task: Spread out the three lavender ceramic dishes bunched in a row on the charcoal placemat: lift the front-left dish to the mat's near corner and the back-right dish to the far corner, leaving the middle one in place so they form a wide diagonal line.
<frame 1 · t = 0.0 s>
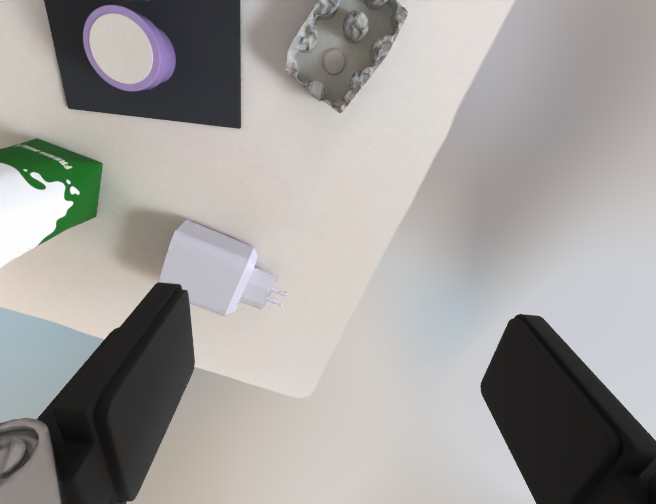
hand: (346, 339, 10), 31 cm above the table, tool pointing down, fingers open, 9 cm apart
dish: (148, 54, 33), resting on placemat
charger: (234, 268, 45), on the table
egg carton: (342, 44, 33), on the table
milk carton: (69, 179, 39), on the table
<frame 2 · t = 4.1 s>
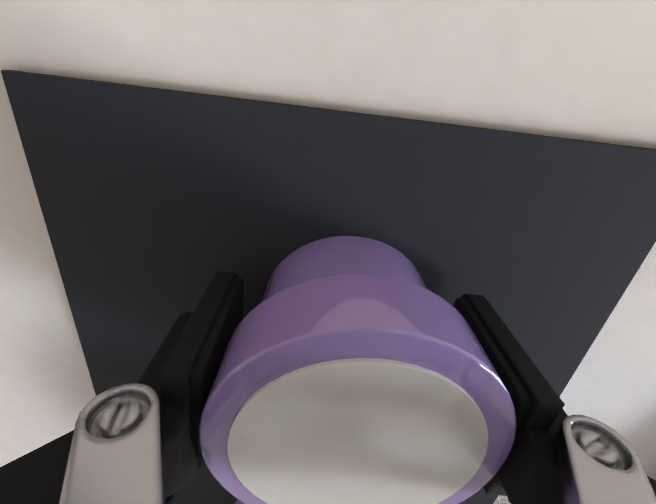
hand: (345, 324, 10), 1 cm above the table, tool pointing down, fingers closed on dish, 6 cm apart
placemat: (322, 434, 15), on the table
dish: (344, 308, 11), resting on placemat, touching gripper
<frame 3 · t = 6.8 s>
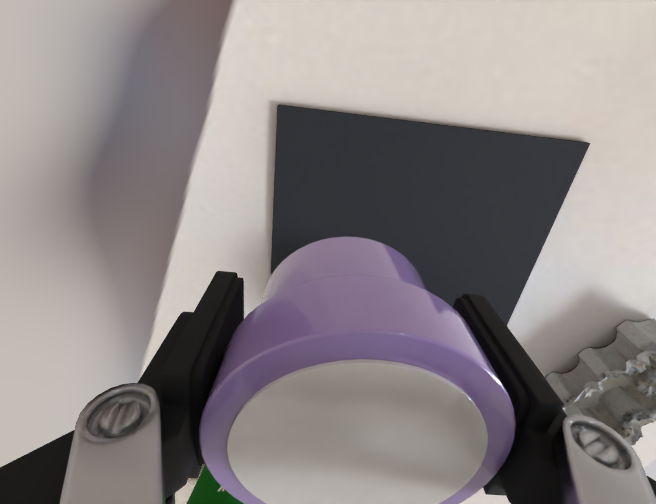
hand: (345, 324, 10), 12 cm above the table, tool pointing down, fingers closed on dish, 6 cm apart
placemat: (390, 307, 25), on the table
egg carton: (603, 365, 28), on the table
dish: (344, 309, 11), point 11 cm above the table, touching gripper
milk carton: (244, 462, 34), on the table
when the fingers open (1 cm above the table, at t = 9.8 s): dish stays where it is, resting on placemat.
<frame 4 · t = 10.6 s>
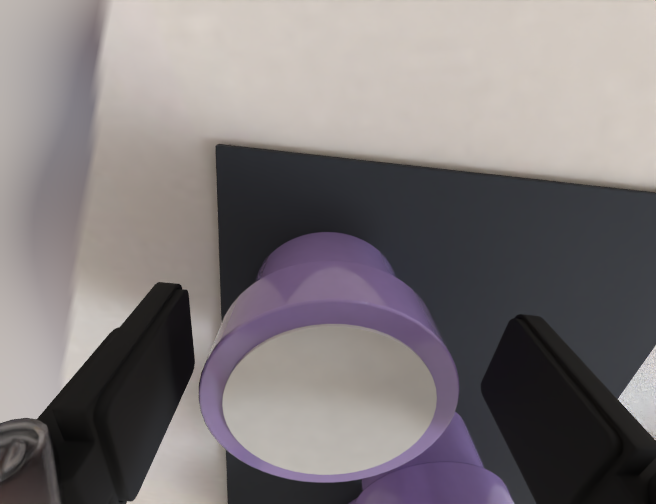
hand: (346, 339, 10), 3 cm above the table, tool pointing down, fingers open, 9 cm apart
placemat: (410, 433, 17), on the table
dish middle: (411, 439, 16), resting on placemat
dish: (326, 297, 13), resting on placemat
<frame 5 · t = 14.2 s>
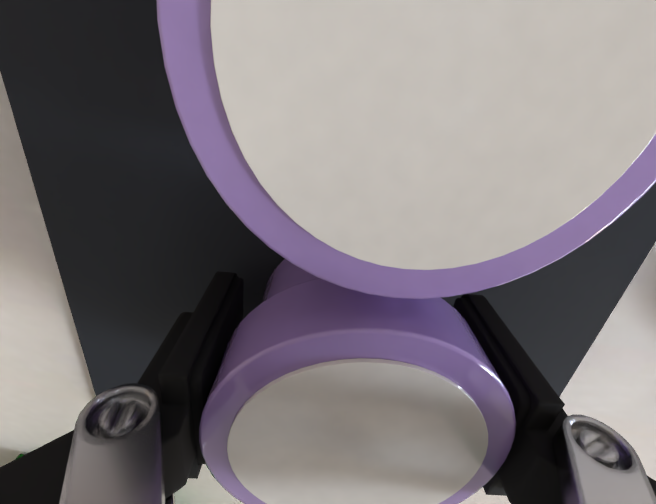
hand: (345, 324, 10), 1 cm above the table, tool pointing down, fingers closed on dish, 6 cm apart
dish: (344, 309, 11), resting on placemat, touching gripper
placemat: (382, 71, 8), on the table
dish middle: (384, 71, 8), resting on placemat
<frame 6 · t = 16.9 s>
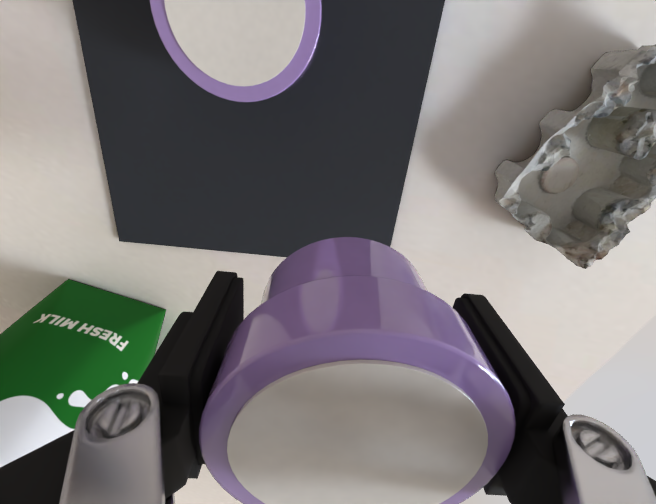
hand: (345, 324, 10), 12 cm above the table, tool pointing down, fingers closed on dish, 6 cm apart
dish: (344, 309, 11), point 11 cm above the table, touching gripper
placemat: (259, 27, 17), on the table
egg carton: (576, 149, 20), on the table
dish middle: (258, 26, 17), resting on placemat
milk carton: (114, 327, 26), on the table
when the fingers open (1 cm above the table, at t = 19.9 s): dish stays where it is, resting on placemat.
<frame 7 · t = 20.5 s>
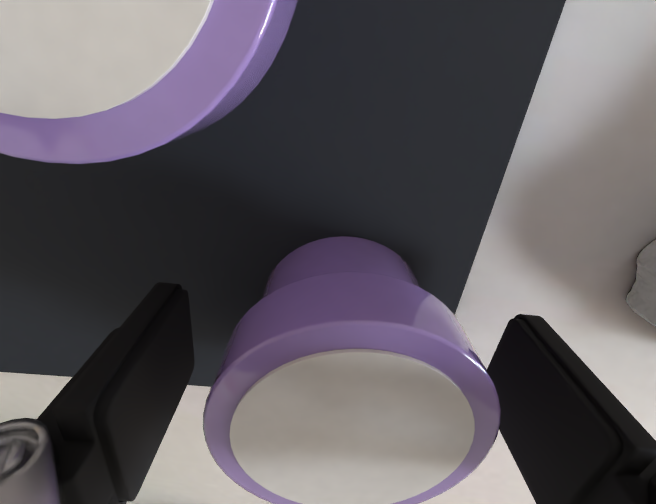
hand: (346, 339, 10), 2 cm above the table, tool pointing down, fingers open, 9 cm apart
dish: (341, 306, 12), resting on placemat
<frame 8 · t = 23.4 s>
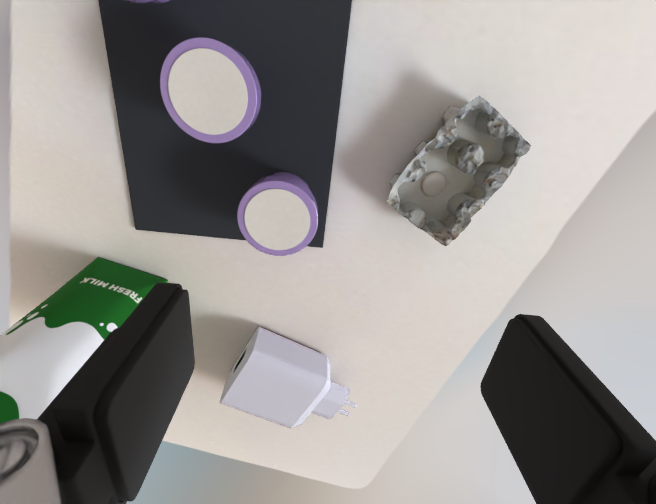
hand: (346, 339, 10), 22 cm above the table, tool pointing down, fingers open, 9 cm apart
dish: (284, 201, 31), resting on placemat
charger: (299, 371, 41), on the table
placemat: (228, 91, 27), on the table
egg carton: (443, 166, 30), on the table
dish middle: (227, 91, 27), resting on placemat
milk carton: (129, 294, 36), on the table
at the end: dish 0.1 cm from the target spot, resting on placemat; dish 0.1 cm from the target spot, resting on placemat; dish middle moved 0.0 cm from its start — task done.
